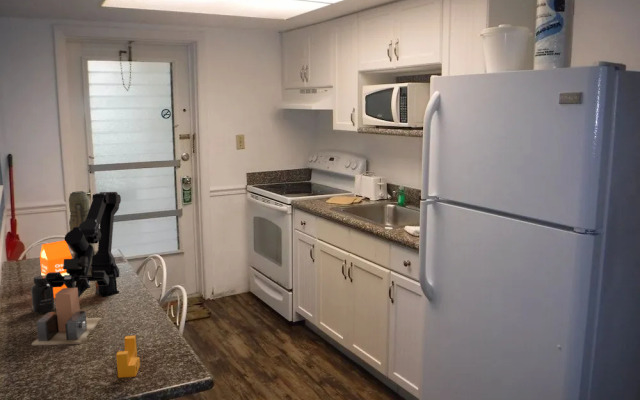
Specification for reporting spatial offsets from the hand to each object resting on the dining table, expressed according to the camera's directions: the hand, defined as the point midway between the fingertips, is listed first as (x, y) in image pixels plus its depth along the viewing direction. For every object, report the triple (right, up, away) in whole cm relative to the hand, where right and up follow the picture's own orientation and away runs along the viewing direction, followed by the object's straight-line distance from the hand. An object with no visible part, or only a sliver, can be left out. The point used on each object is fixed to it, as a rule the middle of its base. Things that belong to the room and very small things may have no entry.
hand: (72, 302), depth 177 cm
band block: (+1, -9, -7) cm, 11 cm away
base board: (0, -8, -2) cm, 9 cm away
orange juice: (-20, -3, +34) cm, 39 cm away
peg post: (0, -7, -2) cm, 8 cm away
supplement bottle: (-17, -6, +16) cm, 24 cm away
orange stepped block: (+28, -12, -27) cm, 41 cm away
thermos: (-20, +1, +58) cm, 61 cm away
